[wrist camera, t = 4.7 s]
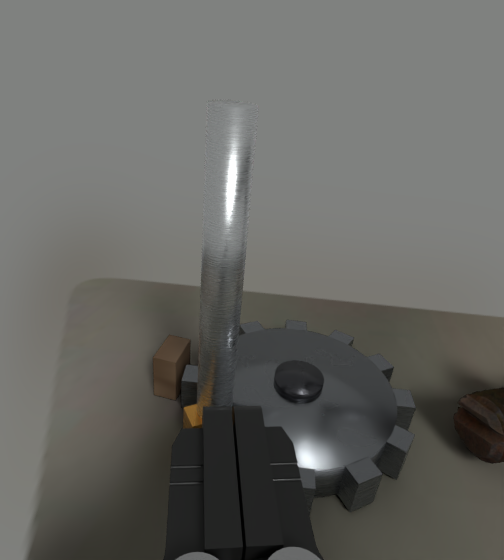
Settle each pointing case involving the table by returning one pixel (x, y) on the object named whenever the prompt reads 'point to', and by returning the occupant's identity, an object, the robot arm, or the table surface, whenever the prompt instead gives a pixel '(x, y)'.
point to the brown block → (170, 366)
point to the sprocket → (285, 347)
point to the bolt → (482, 424)
